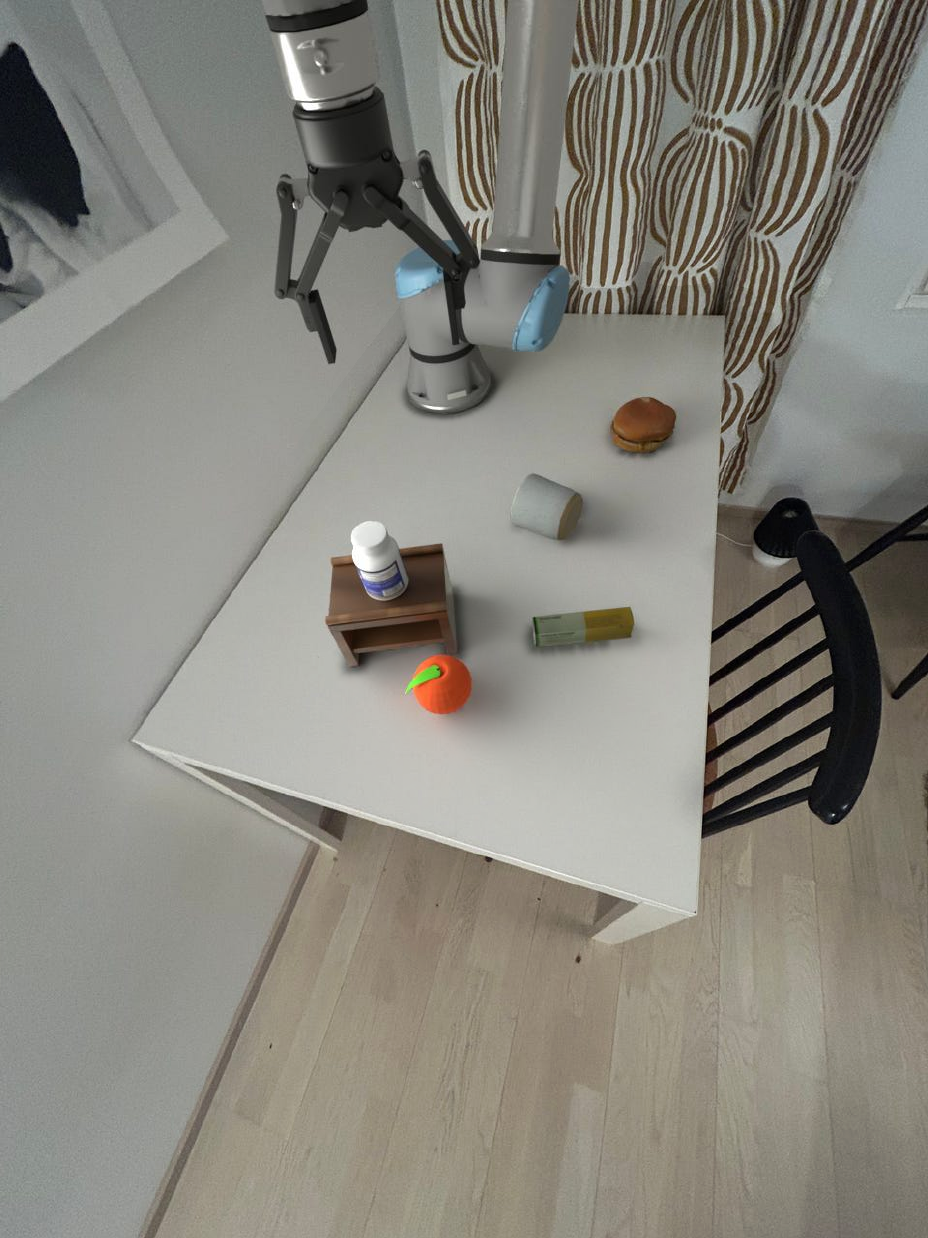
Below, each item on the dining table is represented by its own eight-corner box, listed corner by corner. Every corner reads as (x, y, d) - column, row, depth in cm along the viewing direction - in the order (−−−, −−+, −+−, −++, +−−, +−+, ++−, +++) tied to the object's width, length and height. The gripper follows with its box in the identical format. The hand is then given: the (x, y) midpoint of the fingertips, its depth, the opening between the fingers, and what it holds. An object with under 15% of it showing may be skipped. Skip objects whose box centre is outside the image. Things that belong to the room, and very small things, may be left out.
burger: (621, 460, 91) (625, 435, 87) (602, 424, 96) (605, 399, 93) (683, 446, 91) (689, 421, 87) (661, 412, 96) (665, 386, 93)
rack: (352, 604, 81) (330, 556, 72) (452, 592, 80) (441, 541, 72) (349, 666, 75) (324, 621, 67) (457, 653, 74) (445, 606, 66)
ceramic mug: (561, 553, 81) (563, 513, 75) (510, 534, 85) (508, 494, 78) (594, 505, 86) (598, 464, 80) (544, 489, 89) (544, 448, 83)
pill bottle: (371, 566, 72) (351, 515, 65) (412, 568, 71) (397, 516, 64) (361, 601, 69) (339, 551, 62) (404, 603, 68) (387, 552, 61)
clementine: (422, 737, 68) (410, 710, 62) (402, 690, 72) (389, 661, 66) (484, 709, 69) (478, 680, 63) (461, 664, 73) (453, 633, 67)
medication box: (534, 649, 73) (533, 635, 70) (532, 630, 75) (530, 615, 71) (632, 639, 72) (635, 623, 69) (627, 620, 73) (631, 604, 70)
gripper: (174, 136, 45) (278, 384, 62) (496, 79, 43) (511, 349, 61) (194, 106, 49) (286, 345, 67) (487, 54, 48) (503, 312, 65)
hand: (393, 347), depth 64 cm, fingers open, 13 cm apart
